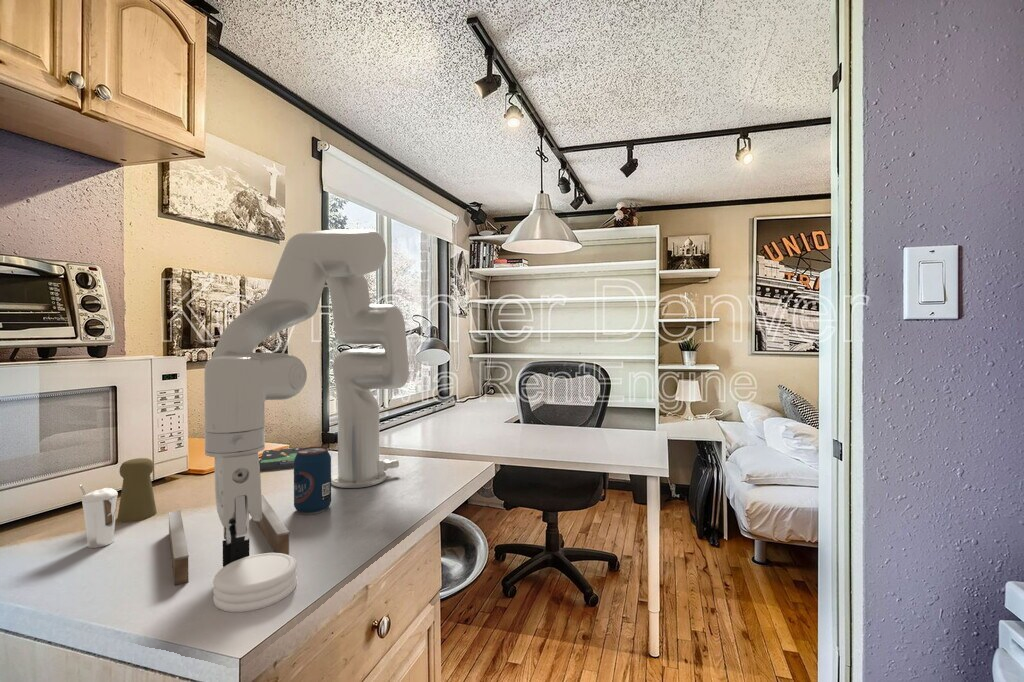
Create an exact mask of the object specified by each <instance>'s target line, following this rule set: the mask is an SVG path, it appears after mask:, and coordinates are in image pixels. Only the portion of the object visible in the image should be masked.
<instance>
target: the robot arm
mask: <svg viewBox="0 0 1024 682" xmlns="http://www.w3.org/2000/svg"><path fill="white" fill-rule="evenodd" d="M386 246H387V245H386V243H385V240H384V238H383V237H382V235H381V234H380V233H379V232H377V231H376V230H375V229H334V230H333V229H330V230H328V229H325V230H315V231H309V232H308V231H307V232H301V233H297V234H296V233H295V234H294V235H293V236H291V237H290V238H289V239H288V240H287V242H286V245H285V247H284V249H283V252H282V253H281V257H280V259H279V261H278V264H277V267H276V269H275V272H274V274H273V277H272V280H271V282H270V285H269V287H268V290H267V292H266V293H265V295H264V296H263V297H261V298H260V299H258V300H257V301H256V302H254V303H253V304H251V305H250V306H249V307H248V308H247V309H245V310H243V311H242V312H241V313H240V314H239V315H238V316H236V317H235V318H234V319H233V320H232V321H231V322H230V323H229V324H228V325H227V326H226V328H225V329H224V330H223V331H222V333H221V335H220V336H219V339H218V341H217V343H216V346H215V348H214V350H213V353H212V355H211V358H209V359H208V360H207V361H206V363H205V365H204V455H205V456H206V457H210V458H214V493H215V505H216V512H217V514H218V517H219V521H220V523H221V525H222V527H223V540H222V568H223V567H225V566H226V565H228V564H230V563H232V562H234V561H236V560H239V559H241V558H244V557H248V556H250V533H249V532H250V531H249V529H250V528H249V527H250V516H251V518H252V521H254V522H256V521H257V522H259V521H260V520H261V519H262V498H261V495H262V482H261V481H262V478H261V471H260V464H259V461H260V458H259V457H260V456H259V453H260V452H263V451H264V449H266V448H265V447H266V446H265V445H266V443H265V440H266V439H265V435H266V434H265V432H266V431H265V430H266V429H265V428H266V427H265V426H266V425H265V402H266V401H283V400H288V399H290V398H291V399H292V398H293V397H295V396H297V395H298V394H299V393H300V392H301V391H302V390H303V388H304V387H305V385H306V382H307V375H308V372H307V368H306V366H305V364H304V363H303V361H302V360H301V359H300V358H299V357H297V356H295V355H294V354H289V353H285V352H283V353H282V352H253V351H254V350H255V348H257V346H259V344H261V342H263V341H264V340H266V339H267V338H269V337H270V336H273V335H274V334H277V333H279V332H281V331H283V330H286V329H289V328H291V327H293V326H296V325H298V324H301V323H304V322H305V321H307V320H308V319H311V318H313V316H314V315H315V314H316V312H317V310H318V308H319V307H318V306H319V304H320V301H321V297H322V295H323V291H324V287H325V284H327V287H328V290H329V295H330V303H331V312H332V319H333V320H332V321H333V326H334V331H335V335H336V338H337V340H338V341H339V343H342V344H345V345H348V346H349V345H351V346H381V347H382V349H381V348H352V349H351V348H350V349H346V350H343V351H341V352H339V353H338V354H337V355H336V356H335V357H334V360H333V363H332V372H333V378H334V383H335V390H336V398H337V473H335V474H334V475H333V476H331V486H334V487H336V488H342V489H343V488H345V489H358V488H359V489H361V488H367V487H372V486H375V485H378V484H381V483H383V482H384V481H385V480H386V479H387V473H386V471H387V470H389V469H397V468H399V466H400V462H399V460H398V459H393V460H390V459H384V460H383V459H382V458H380V406H379V403H378V400H377V398H376V397H375V395H374V394H373V392H372V391H371V390H395V389H400V388H403V387H404V386H406V385H407V382H408V380H409V372H410V370H409V369H410V368H409V354H408V340H407V330H406V329H407V328H406V323H405V318H404V315H403V312H402V311H401V310H400V308H399V307H398V306H395V305H393V304H385V303H383V304H380V303H379V304H377V303H372V301H371V299H370V298H371V297H370V290H369V283H368V281H367V278H366V277H365V275H368V274H371V273H373V272H376V271H378V270H379V269H381V267H382V266H383V264H384V263H385V260H386V256H387V255H386V254H387V247H386ZM257 522H256V523H257Z"/></svg>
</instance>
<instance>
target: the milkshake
mask: <svg viewBox="0 0 1024 682" xmlns="http://www.w3.org/2000/svg"><path fill="white" fill-rule="evenodd" d="M79 488H80V490H81V492H82V494H83V495H82V498H81V503H82V511H83V519H84V527H85V535H86V543H87V544H86V545H87V548H89V549H99V548H102V547H106V546H108V545H111V544H112V543H113V542H114V539H115V530H116V529H115V528H116V515H117V513H116V512H117V504H118V495H119V494H118V491H117V490H116V489H114V488H111V487H103V488H100V489H96V490H93V491H90V492H89V493H86V491H85V489H84V487H83V485H82V484H80V485H79Z"/></svg>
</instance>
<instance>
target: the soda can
mask: <svg viewBox="0 0 1024 682" xmlns="http://www.w3.org/2000/svg"><path fill="white" fill-rule="evenodd" d="M301 448H302V449H299V450H298V451H297V455H296V457H295V459H294V468H293V507H294V508H295V510H296V511H297V513H298V514H301V515H316V514H319V513H320V514H321V513H323V512H325V511H326V510H328V509H329V507H330V504H331V503H332V484H331V478H332V456H331V455H330V452H329V449H328V447H325V446H309V447H304V448H303V447H301Z"/></svg>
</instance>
